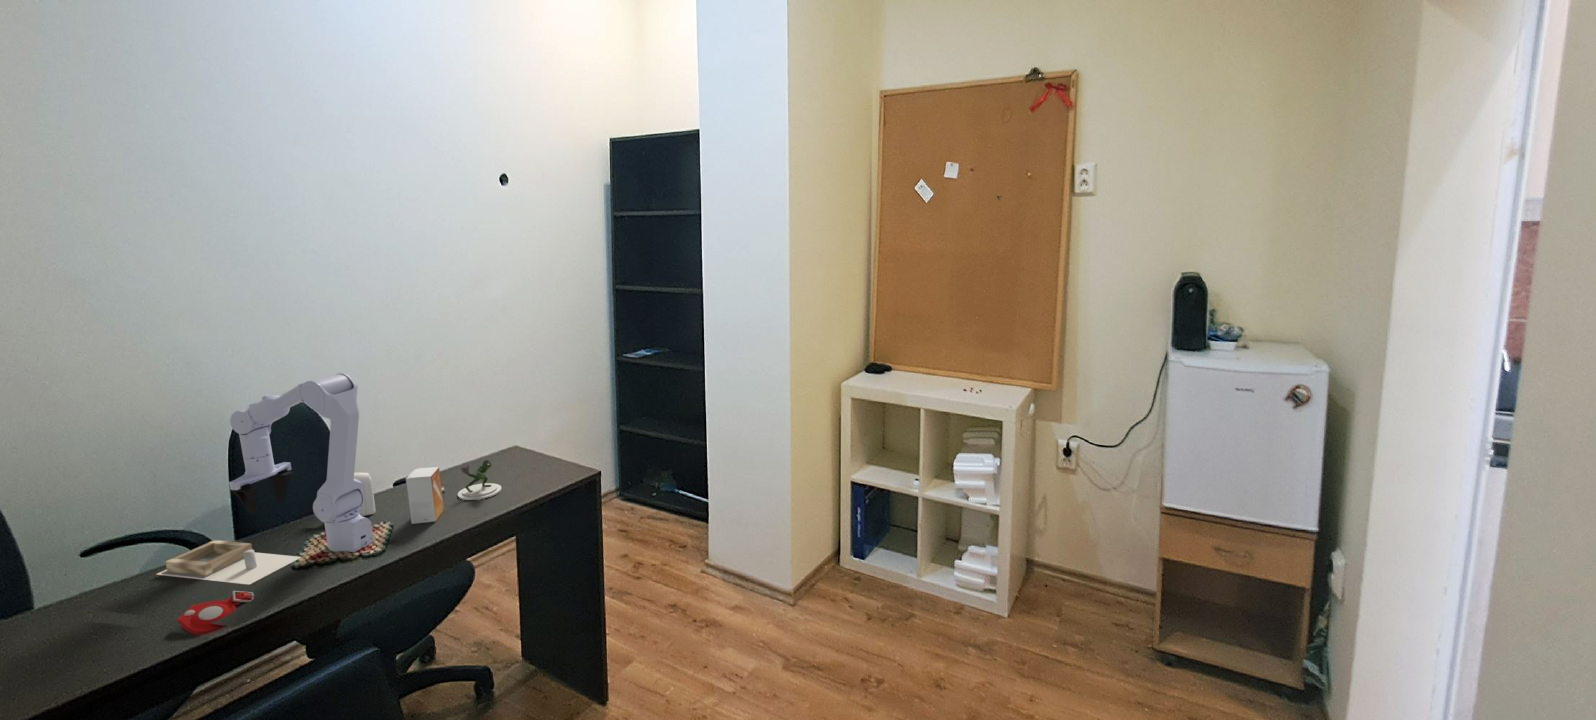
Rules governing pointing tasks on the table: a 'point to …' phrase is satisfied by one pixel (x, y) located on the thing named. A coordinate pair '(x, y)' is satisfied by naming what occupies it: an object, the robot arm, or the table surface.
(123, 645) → the table surface
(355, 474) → the photo printer
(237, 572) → the board
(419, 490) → the small box
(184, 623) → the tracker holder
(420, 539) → the table surface
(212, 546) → the beige rectangular frame
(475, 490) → the monster figurine
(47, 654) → the table surface
